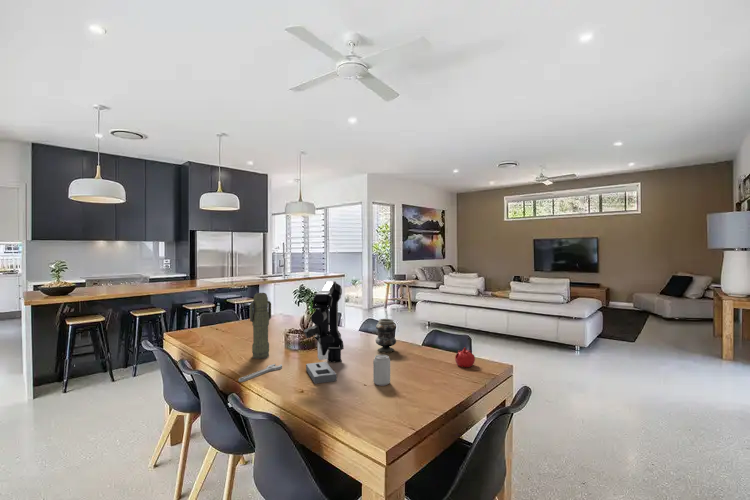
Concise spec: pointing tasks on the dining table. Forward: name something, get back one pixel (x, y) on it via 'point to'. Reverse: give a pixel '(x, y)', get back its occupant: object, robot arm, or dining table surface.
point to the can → (381, 370)
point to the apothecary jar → (386, 335)
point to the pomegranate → (464, 358)
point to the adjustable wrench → (260, 372)
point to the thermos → (260, 325)
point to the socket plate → (321, 372)
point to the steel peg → (320, 355)
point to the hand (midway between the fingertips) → (322, 354)
